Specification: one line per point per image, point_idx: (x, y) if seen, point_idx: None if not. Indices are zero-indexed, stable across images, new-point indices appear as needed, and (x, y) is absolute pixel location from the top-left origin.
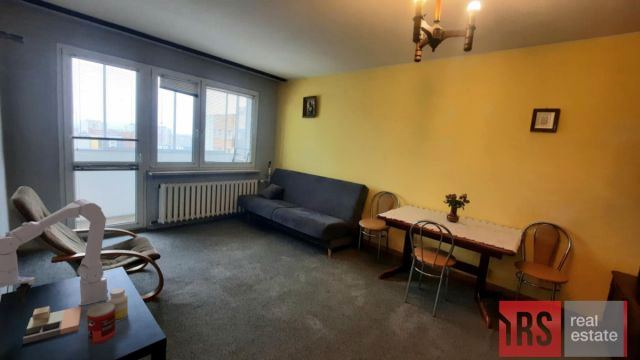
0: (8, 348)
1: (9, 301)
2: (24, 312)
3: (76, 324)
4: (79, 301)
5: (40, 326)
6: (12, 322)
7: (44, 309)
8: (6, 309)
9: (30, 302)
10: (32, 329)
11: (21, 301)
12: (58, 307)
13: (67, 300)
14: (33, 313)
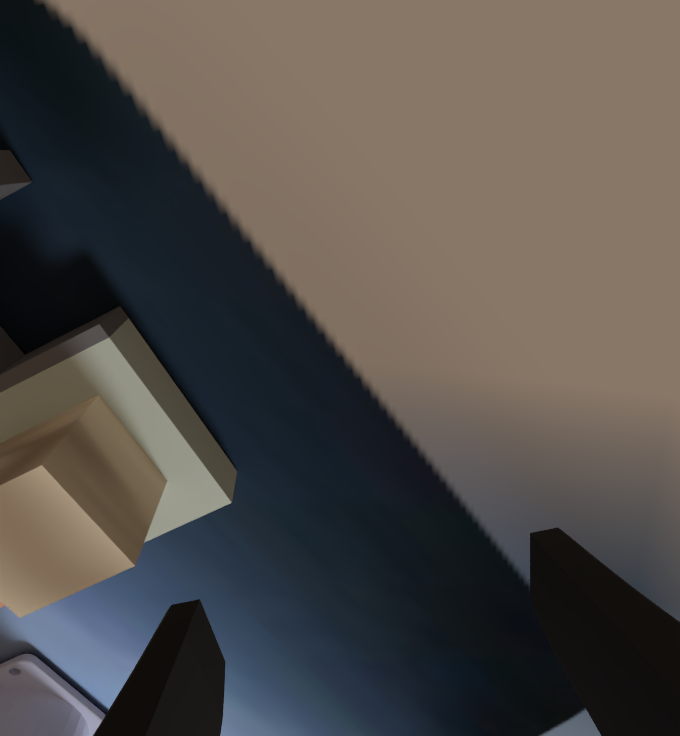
0: (98, 85)
1: None
2: (391, 577)
3: None
4: (69, 695)
5: (6, 371)
6: (386, 471)
7: (8, 561)
8: None
9: (436, 669)
10: (66, 338)
11: (149, 653)
12: None
13: None
14: (64, 491)
